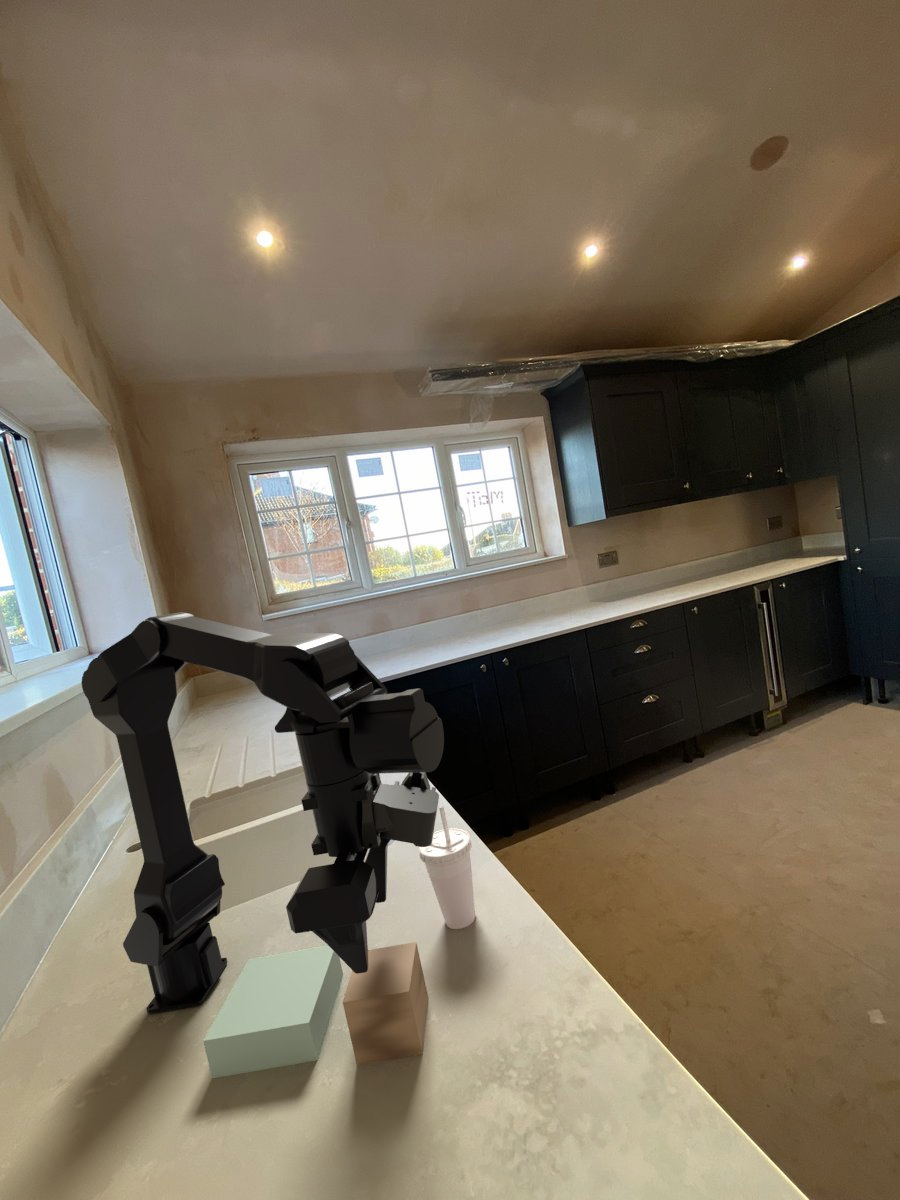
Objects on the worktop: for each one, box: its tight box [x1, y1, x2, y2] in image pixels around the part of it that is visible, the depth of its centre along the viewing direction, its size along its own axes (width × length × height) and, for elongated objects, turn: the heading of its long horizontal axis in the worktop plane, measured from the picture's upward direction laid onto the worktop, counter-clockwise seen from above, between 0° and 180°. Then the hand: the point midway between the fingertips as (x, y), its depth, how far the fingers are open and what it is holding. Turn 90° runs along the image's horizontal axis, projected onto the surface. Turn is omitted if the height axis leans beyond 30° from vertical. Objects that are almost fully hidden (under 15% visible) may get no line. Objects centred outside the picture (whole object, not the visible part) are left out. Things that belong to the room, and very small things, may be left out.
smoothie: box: [418, 805, 476, 930], centre depth 62 cm, size 6×6×14 cm
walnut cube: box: [342, 941, 429, 1066], centre depth 48 cm, size 6×6×6 cm
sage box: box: [202, 944, 344, 1079], centre depth 52 cm, size 10×10×4 cm
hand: (372, 933), depth 48 cm, fingers open, 9 cm apart
